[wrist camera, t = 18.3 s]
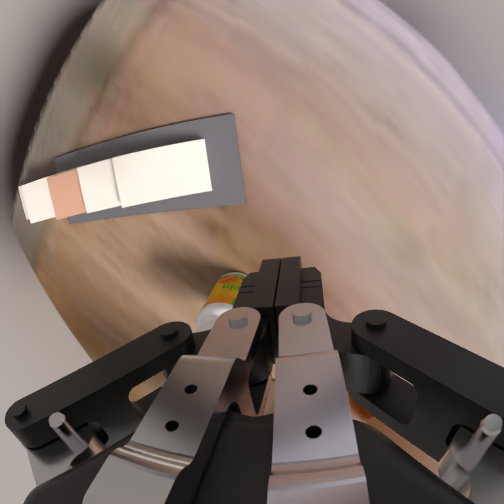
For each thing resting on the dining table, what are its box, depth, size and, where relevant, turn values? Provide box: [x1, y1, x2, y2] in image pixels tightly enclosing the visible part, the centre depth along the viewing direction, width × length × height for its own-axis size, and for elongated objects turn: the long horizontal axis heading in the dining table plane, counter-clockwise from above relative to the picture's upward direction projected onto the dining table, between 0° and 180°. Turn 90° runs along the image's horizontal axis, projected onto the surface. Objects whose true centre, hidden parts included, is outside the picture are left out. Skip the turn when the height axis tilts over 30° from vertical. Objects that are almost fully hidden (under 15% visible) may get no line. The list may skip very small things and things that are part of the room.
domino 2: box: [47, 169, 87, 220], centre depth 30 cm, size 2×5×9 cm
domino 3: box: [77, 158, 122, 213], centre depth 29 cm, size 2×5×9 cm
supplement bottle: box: [197, 272, 247, 332], centre depth 31 cm, size 5×5×10 cm
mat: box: [54, 114, 246, 224], centre depth 31 cm, size 24×9×1 cm, turn 97°
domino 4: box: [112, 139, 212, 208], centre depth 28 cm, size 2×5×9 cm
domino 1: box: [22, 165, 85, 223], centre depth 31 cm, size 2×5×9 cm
